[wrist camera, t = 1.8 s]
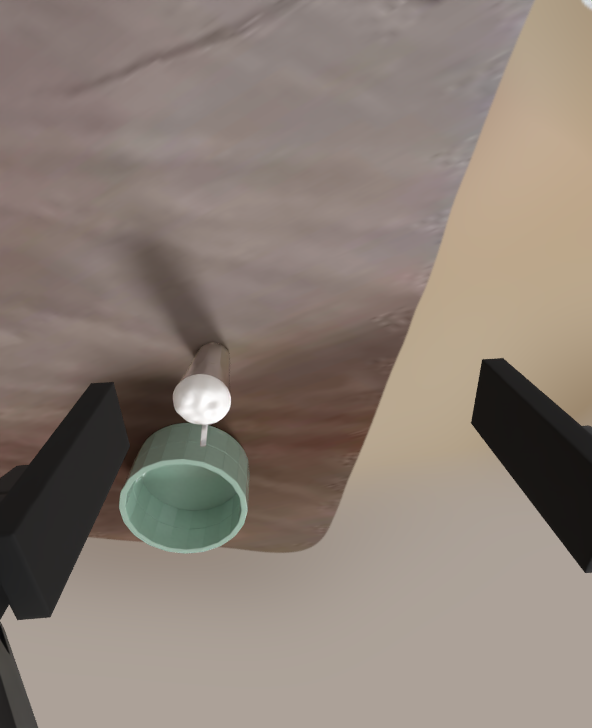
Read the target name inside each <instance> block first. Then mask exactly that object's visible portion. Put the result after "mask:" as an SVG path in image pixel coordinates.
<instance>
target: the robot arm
mask: <svg viewBox="0 0 592 728" xmlns="http://www.w3.org/2000/svg"><path fill="white" fill-rule="evenodd" d="M471 424H472V425H473V426H474V428H475V429H476V430H477V432H478V433H479V434H480V436H481V437H482V438H483V439H484V441H485V442H486V443H487V445H488V446H489V447H490V449H491V450H492V451H493V453H494V454H495V455H496V456H497V458H498V459H499V460H500V462H501V463H502V464H503V466H504V467H505V468H506V470H507V471H508V472H509V474H510V475H511V476H512V477H513V479H514V480H515V481H516V483H517V484H518V485H519V487H520V488H521V489H522V491H523V492H524V493H525V495H526V496H527V497H528V498H529V500H530V501H531V502H532V504H533V505H534V506H535V508H536V509H537V510H538V512H539V513H540V514H541V516H542V517H543V518H544V519H545V521H546V522H547V523H548V525H549V526H550V527H551V529H552V530H553V531H554V533H555V534H556V535H557V537H558V538H559V539H560V540H561V542H562V543H563V544H564V546H565V547H566V548H567V550H568V551H569V552H570V554H571V555H572V556H573V558H574V559H575V560H576V561H577V563H578V564H579V566H580V567H581V568H582V569H583V571H584V572H585V573H591V572H592V427H591V426H581V425H580V424H579V423H577V422H576V421H575V420H574V419H573V418H572V417H571V416H569V415H568V414H567V413H566V412H565V411H563V410H562V409H561V408H560V407H559V406H558V405H556V404H555V403H554V402H553V401H552V400H551V399H550V398H549V397H547V396H546V395H545V394H544V393H543V392H542V391H540V390H539V389H538V388H537V387H536V386H535V385H533V384H532V383H531V382H530V381H529V380H528V379H526V378H525V377H524V376H523V375H522V374H521V373H520V372H518V371H517V370H516V369H515V368H514V367H513V366H511V365H510V364H509V363H508V362H507V361H506V360H504V359H503V358H500V359H483V360H482V364H481V370H480V376H479V382H478V387H477V392H476V398H475V404H474V410H473V416H472V422H471ZM129 447H130V444H129V440H128V437H127V433H126V429H125V425H124V421H123V417H122V413H121V409H120V406H119V402H118V398H117V394H116V390H115V386H114V382H107V383H91V384H90V386H89V387H88V388H87V390H86V391H85V392H84V393H83V395H82V396H81V397H80V399H79V400H78V401H77V403H76V404H75V405H74V407H73V408H72V409H71V411H70V412H69V413H68V414H67V416H66V417H65V418H64V420H63V421H62V422H61V424H60V425H59V426H58V428H57V429H56V430H55V432H54V433H53V434H52V435H51V437H50V438H49V439H48V441H47V442H46V443H45V445H44V446H43V447H42V449H41V450H40V451H39V453H38V454H37V455H36V456H35V458H34V459H33V460H32V462H31V463H30V464H29V465H21V466H16V467H15V468H13V469H12V470H11V471H9V472H8V473H7V474H5V475H4V476H2V477H1V478H0V619H1V618H2V616H3V614H4V612H5V610H6V609H7V607H8V605H10V607H11V608H12V610H13V612H14V614H15V616H16V618H17V620H23V619H35V618H47V617H51V614H52V613H53V610H54V608H55V606H56V604H57V602H58V600H59V598H60V595H61V593H62V591H63V589H64V587H65V585H66V582H67V580H68V578H69V576H70V574H71V572H72V570H73V567H74V565H75V563H76V561H77V559H78V556H79V555H80V552H81V550H82V548H83V546H84V544H85V542H86V540H87V537H88V535H89V533H90V531H91V529H92V527H93V524H94V522H95V520H96V518H97V516H98V514H99V512H100V509H101V507H102V505H103V503H104V501H105V499H106V497H107V494H108V492H109V490H110V488H111V486H112V484H113V482H114V479H115V477H116V475H117V473H118V471H119V469H120V466H121V464H122V462H123V460H124V458H125V456H126V454H127V451H128V449H129ZM0 728H38V726H37V723H36V720H35V717H34V714H33V711H32V708H31V706H30V702H29V699H28V697H27V694H26V691H25V688H24V685H23V682H22V679H21V676H20V674H19V670H18V668H17V665H16V662H15V659H14V656H13V653H12V650H11V647H10V644H9V642H8V639H7V636H6V633H5V630H4V628H3V626H2V624H1V622H0Z"/></svg>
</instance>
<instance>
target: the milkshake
mask: <svg viewBox="0 0 592 728" xmlns="http://www.w3.org/2000/svg"><path fill="white" fill-rule="evenodd" d="M173 404H174V408H175V410H176V412H177V413H178V414H179V415H180V416H182V417H183V418H184V419H185V420H186V421H188V422H190V423H193V424H199V425H202V430H201V441H200V447H205V446H206V440H207V429H208V424H212V423H216V422H218V421H220V420H221V419H222V418H223V417H224V416H225V415H226V414H227V412H228V411H229V409H230V405H231V389H230V353H229V351H228V350H227V349H226V348H225V347H224V346H223V345H221V344H218V343H214V342H211V343H208V344H205V345H202V346H201V348H200V349H199V351H198V352H197V353H196V355H195V357H194V359H193V361H192V362H191V364H190V366H189V368H188V370H187V371H186V373H185V374H184V376H183V377H182V379H181V380H180V382H179V383H178V385H177V386H176V388H175V390H174V393H173Z"/></svg>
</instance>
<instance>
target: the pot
mask: <svg viewBox="0 0 592 728" xmlns="http://www.w3.org/2000/svg"><path fill="white" fill-rule="evenodd" d="M201 430H202V425H199V424H193V423H179V424H174V425H170V426H167V427H164V428H162V429H160V430H158V431H157V432H155V433H154V434H152V435H151V436H150V437H149V438H148V439H147V440H146V441H145V442H144V443H143V445H142V446H141V448H140V450H139V452H138V454H137V456H136V458H135V460H134V462H133V465H132V467H131V469H130V471H129V474H128V476H127V478H126V481H125V483H124V485H123V488H122V490H121V493H120V502H119V509H120V512H121V515H122V518H123V521H124V523H125V524H126V525H127V527H128V528H129V529H130V530H131V532H132V533H133V534H134V535H135V536H136V537H138V538H139V539H141V540H142V541H144V542H145V543H147V544H148V545H150V546H153V547H156V548H159V549H162V550H165V551H169V552H177V553H196V552H203V551H207V550H210V549H213V548H216V547H219V546H221V545H223V544H224V543H226V542H227V541H229V540H230V539H232V538H233V537H234V536H235V535H236V534H237V533H238V531H239V530H240V529H241V527H242V526H243V525H244V522H245V518H246V515H247V511H248V493H249V475H250V474H249V463H248V459H247V456H246V454H245V452H244V450H243V448H242V447H241V445H240V444H239V443H238V442H237V441H236V440H235V439H234V438H233V437H231V436H230V435H229V434H227V433H226V432H224V431H222V430H220V429H218V428H216V427H213V426H210V425H208V429H207V440H206V446H205V447H200V441H201Z"/></svg>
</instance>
